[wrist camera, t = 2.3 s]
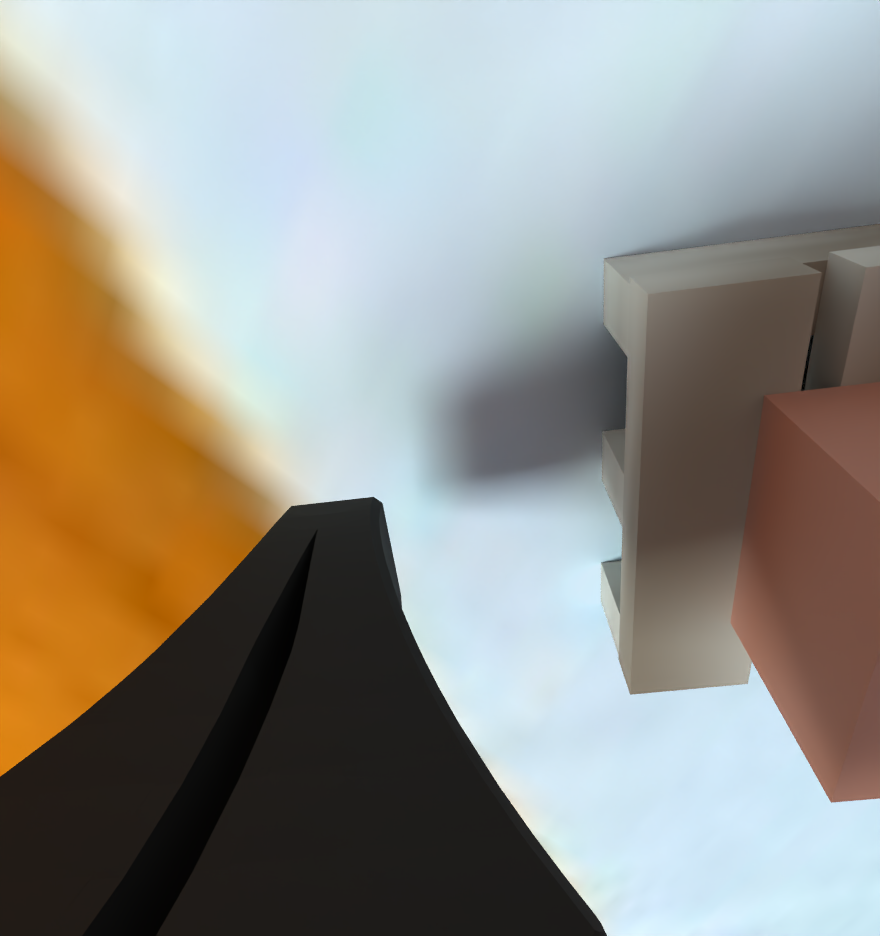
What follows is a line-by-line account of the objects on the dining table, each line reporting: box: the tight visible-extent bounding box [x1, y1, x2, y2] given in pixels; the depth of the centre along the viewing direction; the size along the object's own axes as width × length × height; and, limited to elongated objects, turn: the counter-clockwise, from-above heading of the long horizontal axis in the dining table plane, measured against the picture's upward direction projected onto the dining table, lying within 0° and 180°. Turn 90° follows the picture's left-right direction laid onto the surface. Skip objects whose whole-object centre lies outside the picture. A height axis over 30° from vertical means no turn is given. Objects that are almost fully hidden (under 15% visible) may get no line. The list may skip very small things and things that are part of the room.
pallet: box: [601, 224, 880, 694], centre depth 10 cm, size 7×7×2 cm
